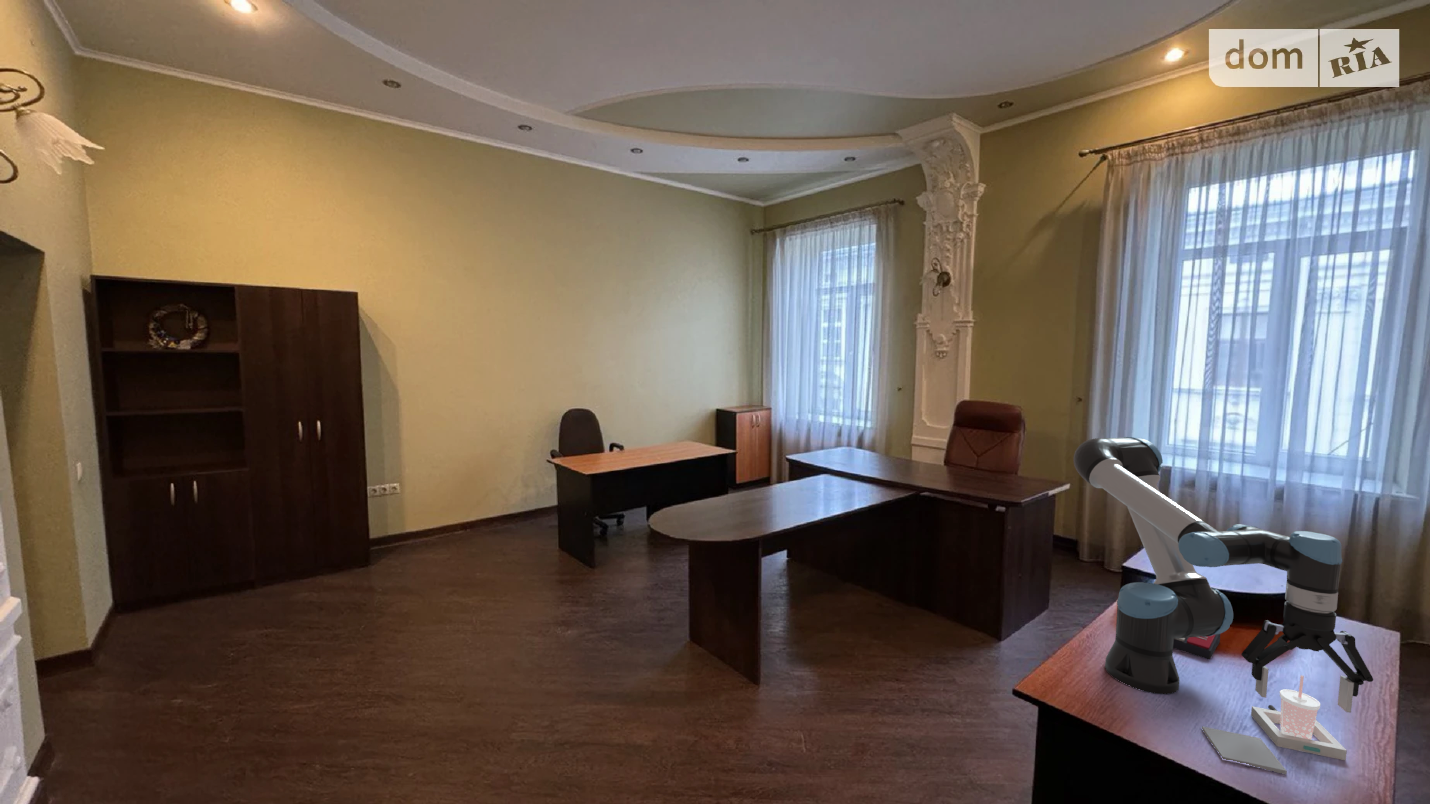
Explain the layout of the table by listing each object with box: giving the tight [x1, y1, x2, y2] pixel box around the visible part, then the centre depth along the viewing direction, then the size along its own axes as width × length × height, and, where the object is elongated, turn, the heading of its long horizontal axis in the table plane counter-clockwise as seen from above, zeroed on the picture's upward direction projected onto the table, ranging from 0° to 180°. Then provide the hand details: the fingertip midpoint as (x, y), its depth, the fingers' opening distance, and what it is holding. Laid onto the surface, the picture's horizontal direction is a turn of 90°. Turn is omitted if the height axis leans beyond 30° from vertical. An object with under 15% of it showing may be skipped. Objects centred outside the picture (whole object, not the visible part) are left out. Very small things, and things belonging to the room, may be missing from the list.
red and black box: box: [1173, 633, 1221, 661], centre depth 159 cm, size 11×4×15 cm
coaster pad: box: [1201, 725, 1288, 776], centre depth 117 cm, size 10×10×1 cm
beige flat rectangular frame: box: [1250, 704, 1348, 761], centre depth 123 cm, size 11×16×2 cm
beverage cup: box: [1279, 674, 1321, 740], centre depth 120 cm, size 6×6×14 cm
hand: (1301, 701), depth 120 cm, fingers open, 13 cm apart
